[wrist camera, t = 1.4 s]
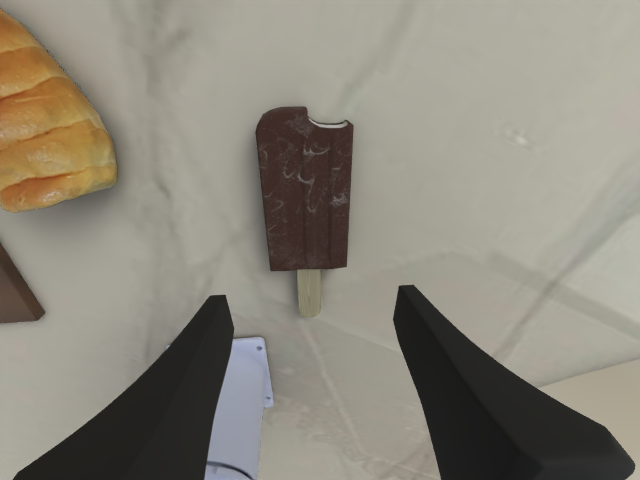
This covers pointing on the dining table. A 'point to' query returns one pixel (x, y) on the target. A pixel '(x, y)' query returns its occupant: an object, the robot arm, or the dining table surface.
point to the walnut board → (15, 294)
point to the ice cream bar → (305, 196)
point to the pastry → (46, 129)
